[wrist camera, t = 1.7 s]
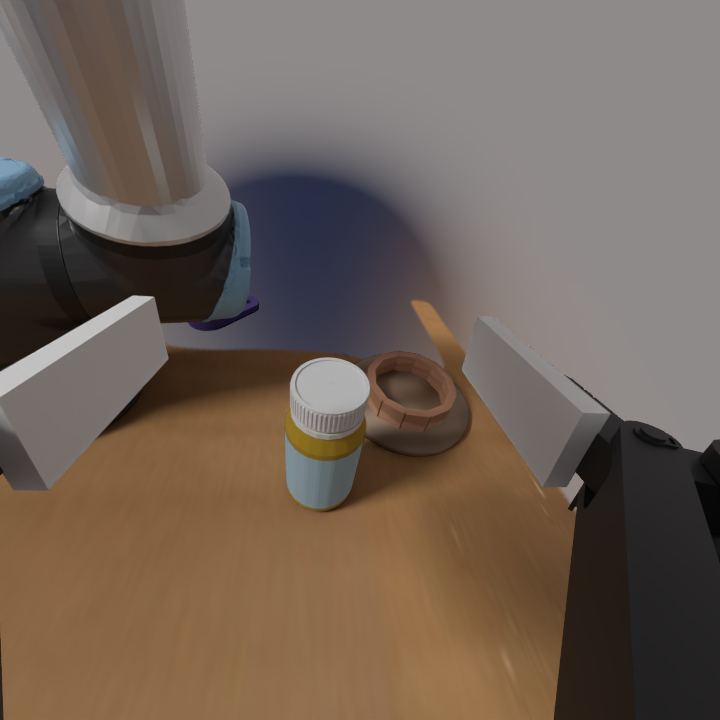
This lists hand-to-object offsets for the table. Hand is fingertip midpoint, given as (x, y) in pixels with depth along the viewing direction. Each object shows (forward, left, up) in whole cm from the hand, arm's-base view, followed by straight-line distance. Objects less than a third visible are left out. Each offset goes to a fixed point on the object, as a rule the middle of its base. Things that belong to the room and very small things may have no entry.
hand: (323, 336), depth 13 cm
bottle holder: (-11, +20, -24) cm, 33 cm away
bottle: (-5, +4, -24) cm, 25 cm away
